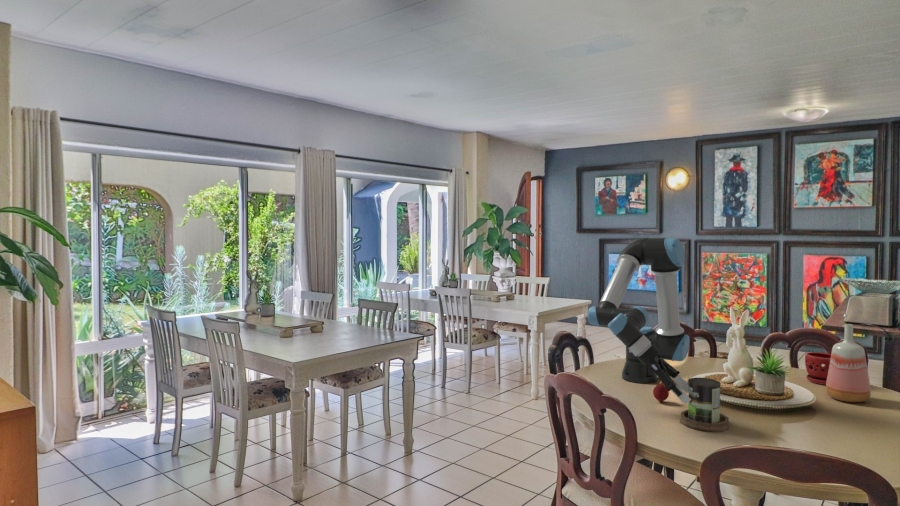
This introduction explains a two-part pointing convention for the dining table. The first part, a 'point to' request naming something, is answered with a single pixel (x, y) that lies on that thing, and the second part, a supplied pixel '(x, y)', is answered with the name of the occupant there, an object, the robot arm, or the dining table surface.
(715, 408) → the coffee can
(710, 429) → the tray
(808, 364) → the plant pot
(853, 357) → the vase
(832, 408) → the dining table surface
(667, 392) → the onion
